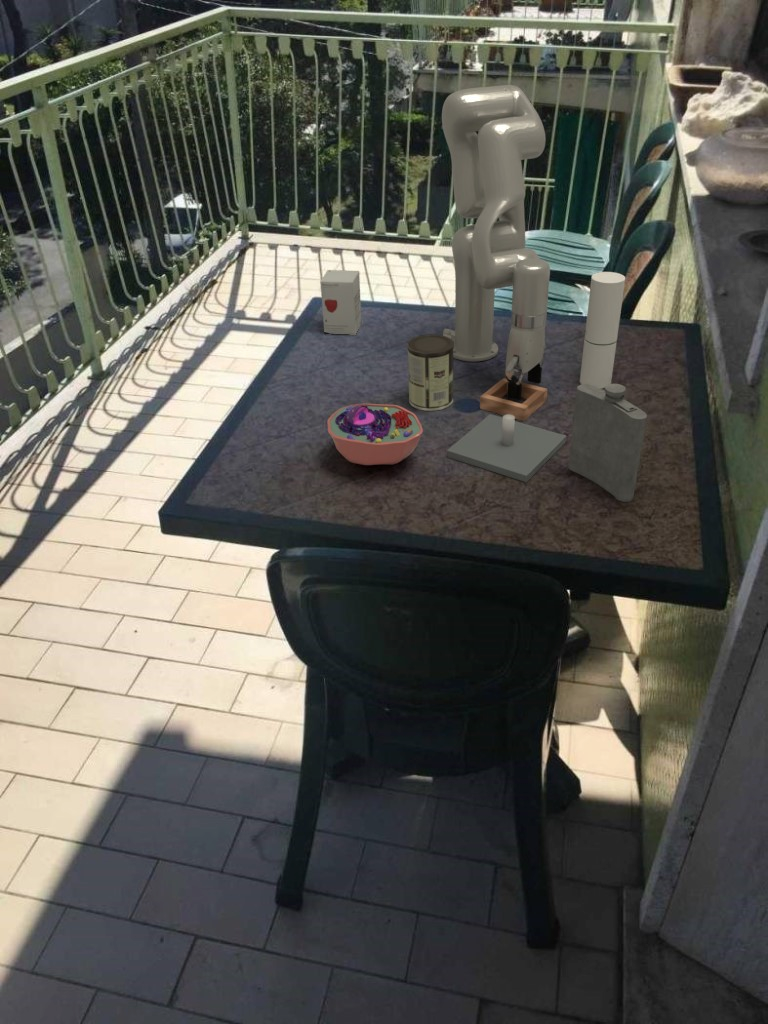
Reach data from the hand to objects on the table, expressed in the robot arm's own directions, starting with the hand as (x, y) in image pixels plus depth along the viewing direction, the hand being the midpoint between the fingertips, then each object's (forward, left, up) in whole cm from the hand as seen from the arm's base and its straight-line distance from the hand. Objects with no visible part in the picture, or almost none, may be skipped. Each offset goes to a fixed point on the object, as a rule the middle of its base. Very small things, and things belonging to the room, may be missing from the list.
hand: (524, 390), depth 185 cm
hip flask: (+29, -23, -2) cm, 37 cm away
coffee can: (-17, -12, -2) cm, 21 cm away
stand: (+8, -22, -2) cm, 24 cm away
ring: (0, -4, -2) cm, 5 cm away
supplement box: (-60, +11, -2) cm, 61 cm away
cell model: (-13, -39, -2) cm, 42 cm away
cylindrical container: (+11, +16, -2) cm, 19 cm away
